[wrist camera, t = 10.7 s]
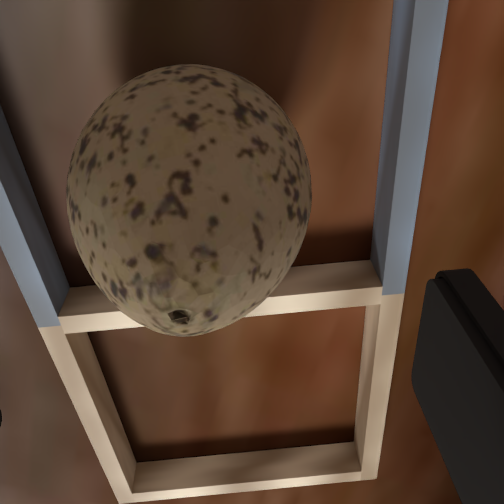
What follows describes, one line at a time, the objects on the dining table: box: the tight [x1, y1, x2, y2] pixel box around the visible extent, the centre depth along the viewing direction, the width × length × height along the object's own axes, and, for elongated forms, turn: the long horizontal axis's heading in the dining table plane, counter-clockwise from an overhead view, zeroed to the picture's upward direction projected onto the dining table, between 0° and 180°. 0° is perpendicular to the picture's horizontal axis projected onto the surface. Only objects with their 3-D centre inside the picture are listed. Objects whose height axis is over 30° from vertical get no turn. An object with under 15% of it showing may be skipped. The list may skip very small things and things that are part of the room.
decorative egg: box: [66, 64, 312, 337], centre depth 14 cm, size 7×7×10 cm
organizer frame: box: [0, 0, 449, 504], centre depth 21 cm, size 16×30×2 cm, turn 4°
